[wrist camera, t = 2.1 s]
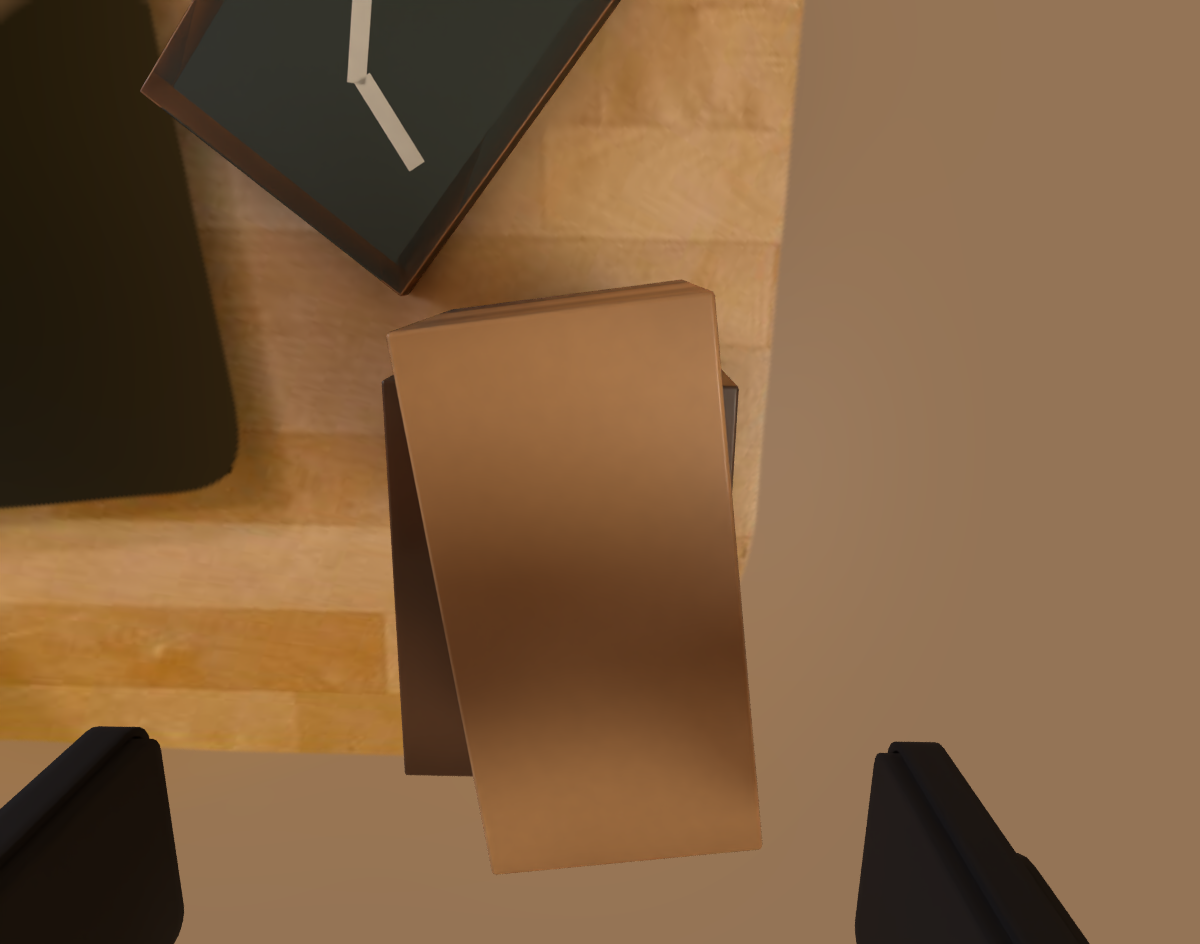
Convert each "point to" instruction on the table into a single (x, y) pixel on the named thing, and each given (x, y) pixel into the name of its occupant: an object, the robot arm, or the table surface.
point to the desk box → (437, 609)
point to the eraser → (587, 571)
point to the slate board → (371, 106)
